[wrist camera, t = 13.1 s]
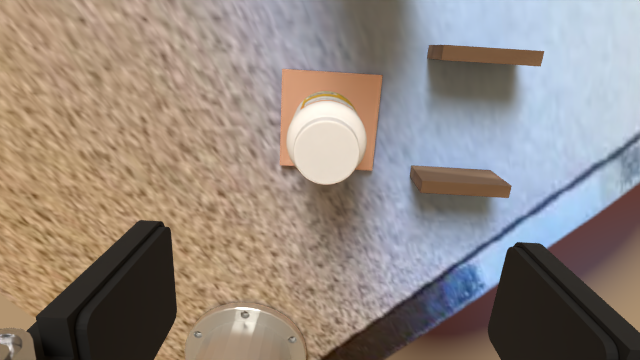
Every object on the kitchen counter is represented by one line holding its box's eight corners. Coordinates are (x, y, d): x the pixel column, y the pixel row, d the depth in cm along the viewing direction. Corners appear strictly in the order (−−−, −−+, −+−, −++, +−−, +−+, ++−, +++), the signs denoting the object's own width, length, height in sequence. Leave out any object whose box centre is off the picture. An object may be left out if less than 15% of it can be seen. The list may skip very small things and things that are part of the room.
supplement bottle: (329, 166, 33) (331, 212, 24) (280, 126, 32) (262, 159, 23) (371, 119, 32) (391, 149, 22) (322, 76, 30) (321, 88, 21)
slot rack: (488, 181, 34) (508, 197, 30) (409, 176, 34) (420, 192, 30) (516, 50, 30) (544, 51, 26) (429, 45, 30) (444, 44, 26)
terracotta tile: (371, 168, 34) (371, 170, 33) (280, 163, 33) (279, 164, 33) (381, 74, 31) (382, 75, 30) (283, 68, 31) (282, 69, 30)
